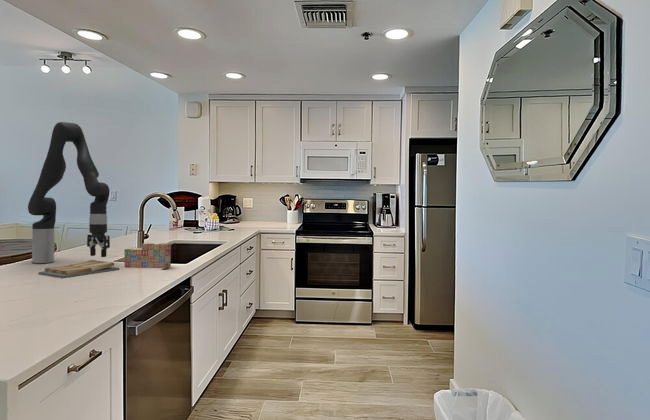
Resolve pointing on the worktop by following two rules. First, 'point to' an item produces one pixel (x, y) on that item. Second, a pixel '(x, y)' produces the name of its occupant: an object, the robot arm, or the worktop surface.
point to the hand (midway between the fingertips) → (98, 256)
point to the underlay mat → (78, 273)
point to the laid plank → (68, 269)
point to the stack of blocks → (149, 256)
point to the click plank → (93, 264)
